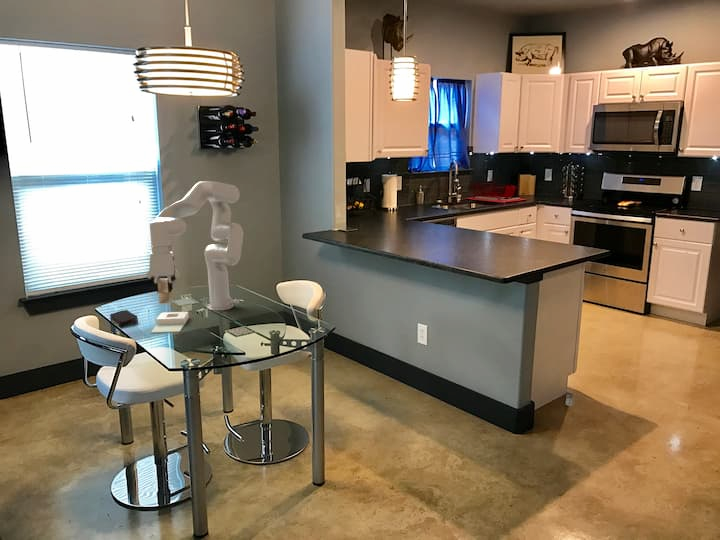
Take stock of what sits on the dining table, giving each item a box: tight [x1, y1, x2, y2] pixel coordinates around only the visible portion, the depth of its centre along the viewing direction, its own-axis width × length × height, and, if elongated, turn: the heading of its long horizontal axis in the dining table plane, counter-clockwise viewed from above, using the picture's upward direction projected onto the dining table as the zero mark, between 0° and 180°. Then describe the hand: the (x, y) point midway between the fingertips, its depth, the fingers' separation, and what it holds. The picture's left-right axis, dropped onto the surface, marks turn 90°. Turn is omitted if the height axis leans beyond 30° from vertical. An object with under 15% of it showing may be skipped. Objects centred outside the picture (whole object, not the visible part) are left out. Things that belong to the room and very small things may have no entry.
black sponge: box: [109, 309, 139, 328], centre depth 261 cm, size 16×8×4 cm, turn 40°
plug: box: [157, 277, 172, 304], centre depth 246 cm, size 4×4×10 cm
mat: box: [150, 324, 185, 334], centre depth 250 cm, size 12×9×1 cm
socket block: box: [155, 311, 190, 326], centre depth 260 cm, size 12×10×4 cm
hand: (164, 291), depth 246 cm, fingers closed on plug, 4 cm apart
